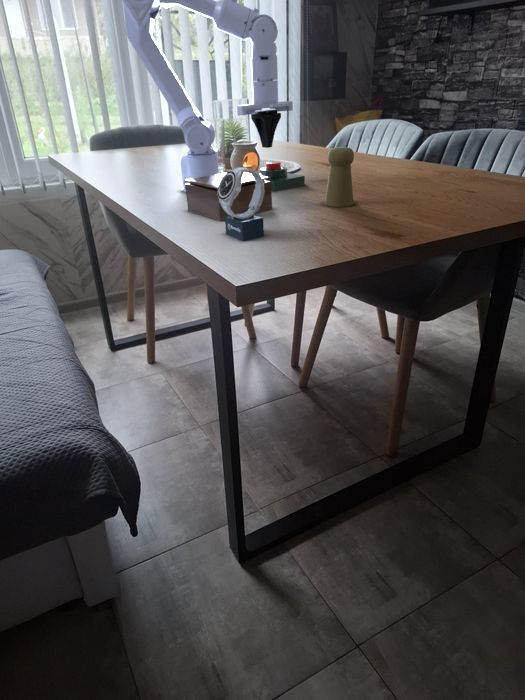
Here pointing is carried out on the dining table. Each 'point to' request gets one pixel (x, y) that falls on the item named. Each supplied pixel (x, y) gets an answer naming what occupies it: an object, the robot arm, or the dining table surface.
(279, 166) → the button
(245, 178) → the flap
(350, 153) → the olive green tall piece
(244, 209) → the carton
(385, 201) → the dining table surface
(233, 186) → the watch
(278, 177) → the button box
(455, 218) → the dining table surface
